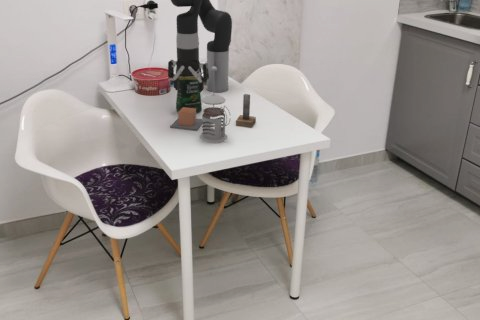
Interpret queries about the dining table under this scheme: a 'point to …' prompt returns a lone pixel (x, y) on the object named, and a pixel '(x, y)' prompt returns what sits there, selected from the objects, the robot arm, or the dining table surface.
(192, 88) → the coffee jar
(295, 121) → the dining table surface
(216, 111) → the french press
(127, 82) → the dining table surface
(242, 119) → the post stand
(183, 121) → the orange cube
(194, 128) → the mat
